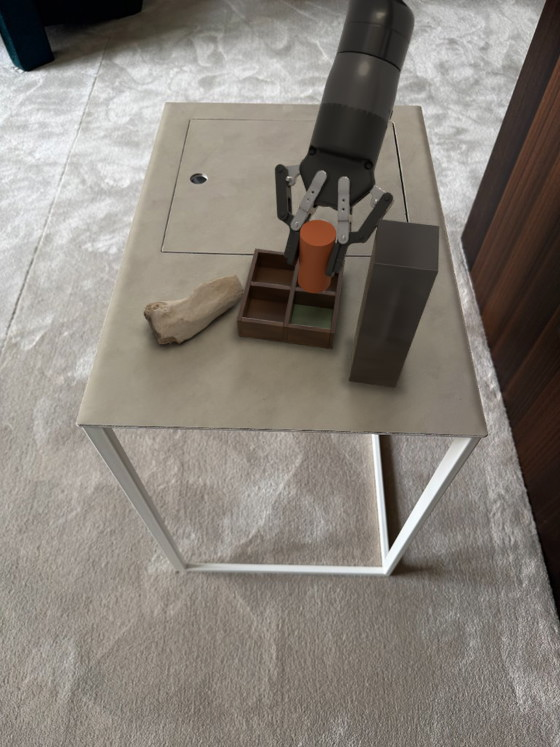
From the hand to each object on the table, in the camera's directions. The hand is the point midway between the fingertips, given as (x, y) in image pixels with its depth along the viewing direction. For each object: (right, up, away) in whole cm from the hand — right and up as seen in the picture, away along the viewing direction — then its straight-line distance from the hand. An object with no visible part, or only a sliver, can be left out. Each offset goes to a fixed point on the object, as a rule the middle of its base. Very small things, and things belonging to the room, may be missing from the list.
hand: (310, 269), depth 62 cm
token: (+1, -1, +4) cm, 4 cm away
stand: (+9, -11, +9) cm, 17 cm away
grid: (-2, -2, +14) cm, 14 cm away
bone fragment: (-15, -4, +13) cm, 21 cm away
